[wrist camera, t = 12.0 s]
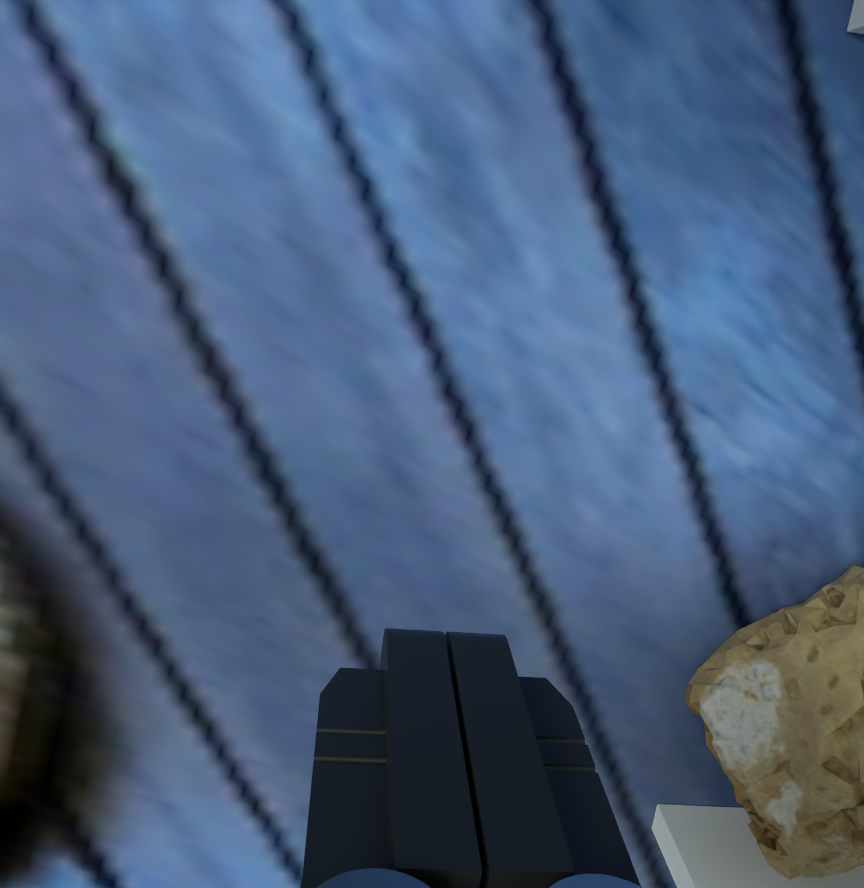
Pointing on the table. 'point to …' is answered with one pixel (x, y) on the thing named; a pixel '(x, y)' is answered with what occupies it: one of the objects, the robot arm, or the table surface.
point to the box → (731, 813)
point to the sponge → (794, 727)
